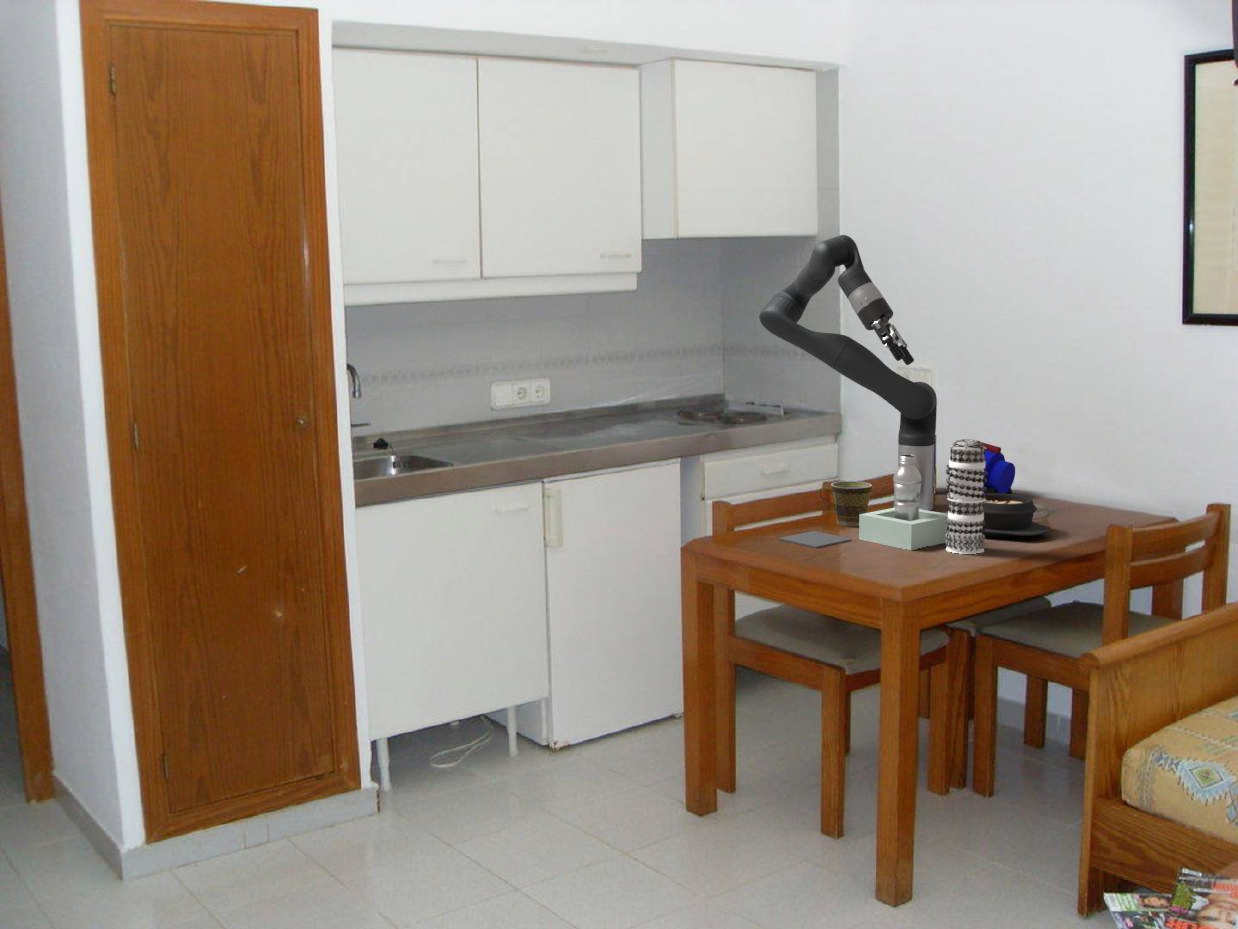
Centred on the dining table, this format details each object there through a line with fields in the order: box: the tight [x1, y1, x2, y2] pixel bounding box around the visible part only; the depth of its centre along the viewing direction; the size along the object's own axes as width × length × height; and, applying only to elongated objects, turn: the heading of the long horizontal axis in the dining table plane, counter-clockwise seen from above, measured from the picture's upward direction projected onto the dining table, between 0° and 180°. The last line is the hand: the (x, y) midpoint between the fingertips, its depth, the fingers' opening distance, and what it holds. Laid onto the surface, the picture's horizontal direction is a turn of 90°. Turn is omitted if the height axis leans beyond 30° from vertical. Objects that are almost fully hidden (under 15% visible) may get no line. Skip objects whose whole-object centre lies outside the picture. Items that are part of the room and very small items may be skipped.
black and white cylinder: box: [945, 438, 988, 555], centre depth 291 cm, size 9×9×25 cm
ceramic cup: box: [818, 480, 873, 528], centre depth 322 cm, size 13×10×10 cm
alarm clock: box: [981, 441, 1016, 494], centre depth 357 cm, size 12×12×15 cm
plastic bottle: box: [892, 455, 922, 521], centre depth 302 cm, size 6×7×20 cm
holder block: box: [858, 507, 949, 551], centre depth 304 cm, size 16×16×6 cm
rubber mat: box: [778, 530, 853, 549], centre depth 305 cm, size 12×12×1 cm
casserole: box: [982, 493, 1052, 538], centre depth 310 cm, size 25×19×8 cm
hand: (905, 361), depth 307 cm, fingers open, 8 cm apart
